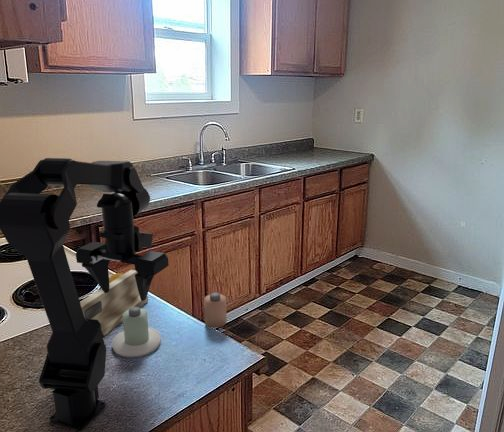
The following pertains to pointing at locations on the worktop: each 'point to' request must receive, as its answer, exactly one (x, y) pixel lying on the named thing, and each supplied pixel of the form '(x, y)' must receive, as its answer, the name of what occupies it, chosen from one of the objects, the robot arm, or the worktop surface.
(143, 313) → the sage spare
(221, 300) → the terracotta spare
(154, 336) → the ceramic plate
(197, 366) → the worktop surface
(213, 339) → the worktop surface
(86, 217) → the worktop surface
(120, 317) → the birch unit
